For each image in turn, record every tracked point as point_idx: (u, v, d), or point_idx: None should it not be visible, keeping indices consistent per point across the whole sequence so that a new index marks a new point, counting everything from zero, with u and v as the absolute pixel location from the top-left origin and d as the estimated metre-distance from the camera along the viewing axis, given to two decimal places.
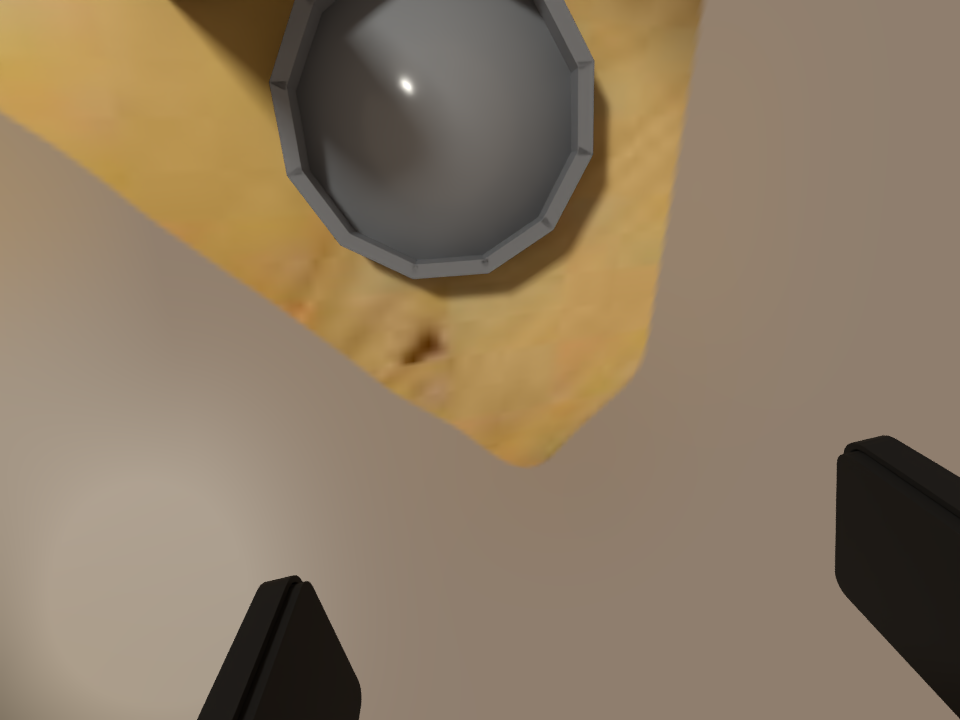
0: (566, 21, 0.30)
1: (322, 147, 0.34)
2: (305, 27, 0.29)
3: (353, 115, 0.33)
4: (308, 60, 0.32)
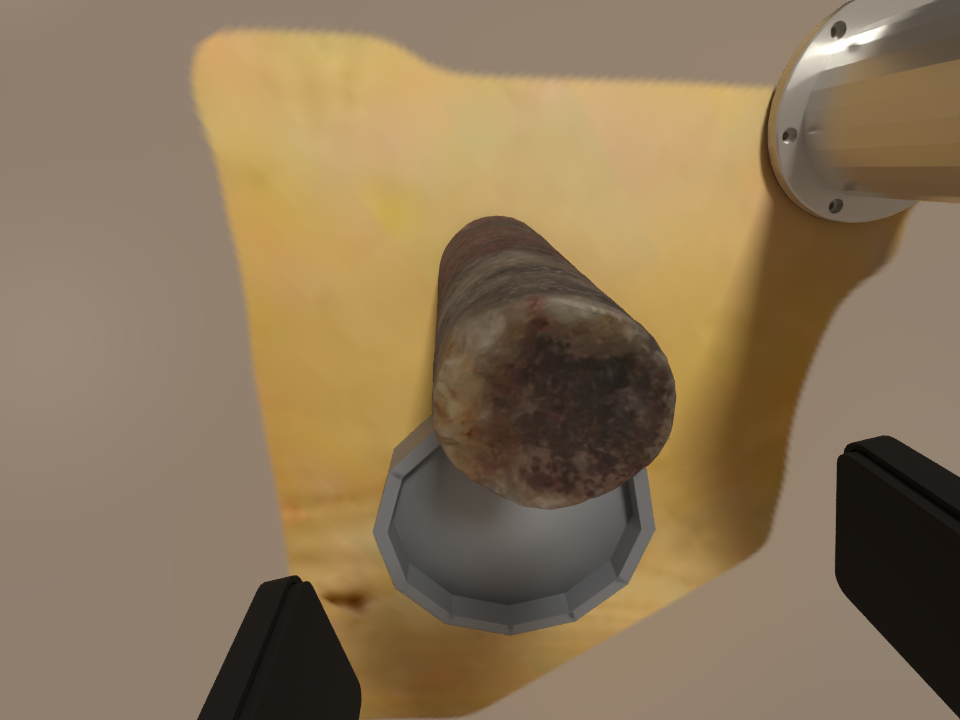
0: (636, 555, 0.38)
1: (429, 459, 0.36)
2: None
3: None
4: None
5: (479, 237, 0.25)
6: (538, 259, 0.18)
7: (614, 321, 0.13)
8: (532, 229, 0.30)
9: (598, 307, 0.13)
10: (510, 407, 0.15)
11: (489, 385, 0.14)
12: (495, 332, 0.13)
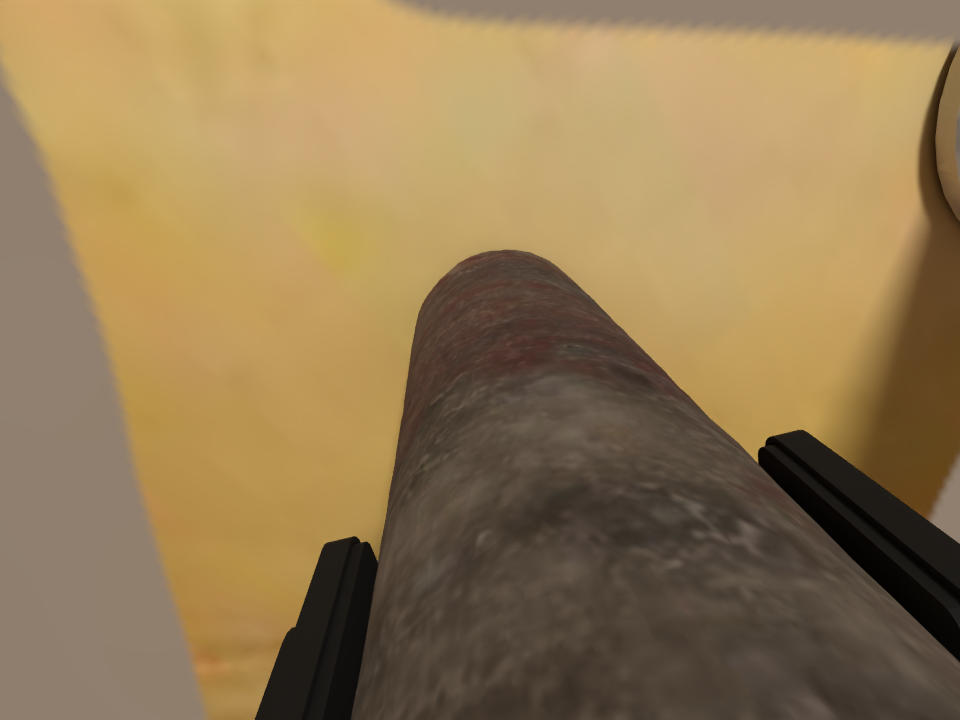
0: None
1: None
2: None
3: None
4: None
5: (478, 305, 0.13)
6: (641, 427, 0.07)
7: None
8: (564, 274, 0.18)
9: None
10: None
11: None
12: None
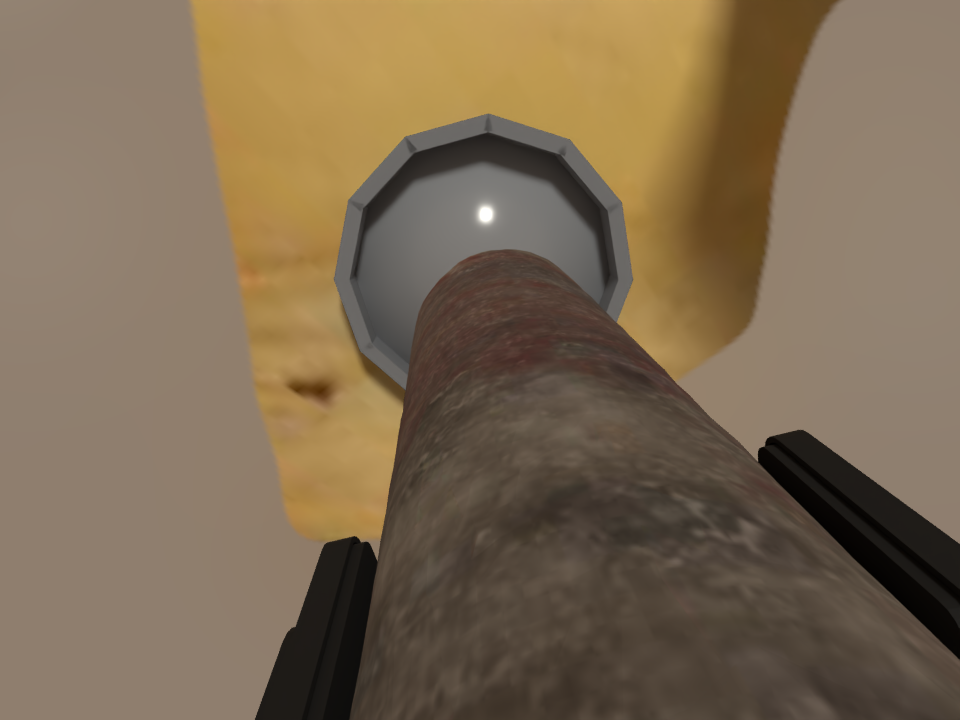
0: (614, 313, 0.36)
1: (393, 203, 0.34)
2: (466, 137, 0.31)
3: (436, 210, 0.35)
4: (445, 147, 0.33)
5: (478, 304, 0.13)
6: (640, 426, 0.07)
7: None
8: (564, 273, 0.18)
9: None
10: None
11: None
12: None
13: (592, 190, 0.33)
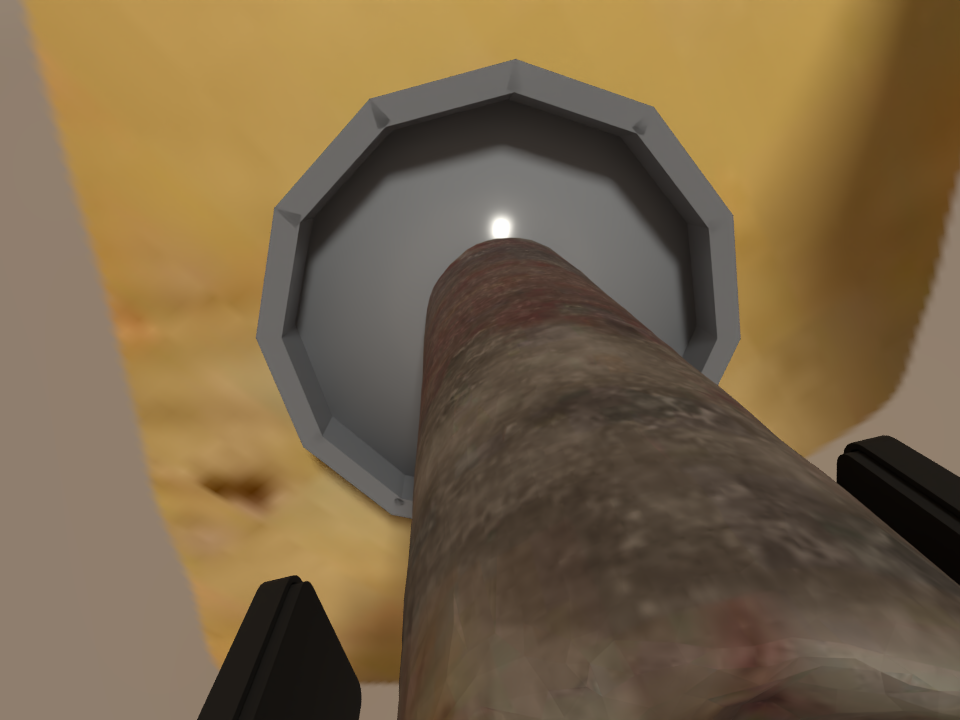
0: None
1: (355, 213, 0.21)
2: (476, 101, 0.18)
3: (425, 224, 0.21)
4: (439, 121, 0.20)
5: (489, 280, 0.15)
6: (630, 357, 0.09)
7: None
8: None
9: None
10: None
11: None
12: None
13: (686, 194, 0.20)
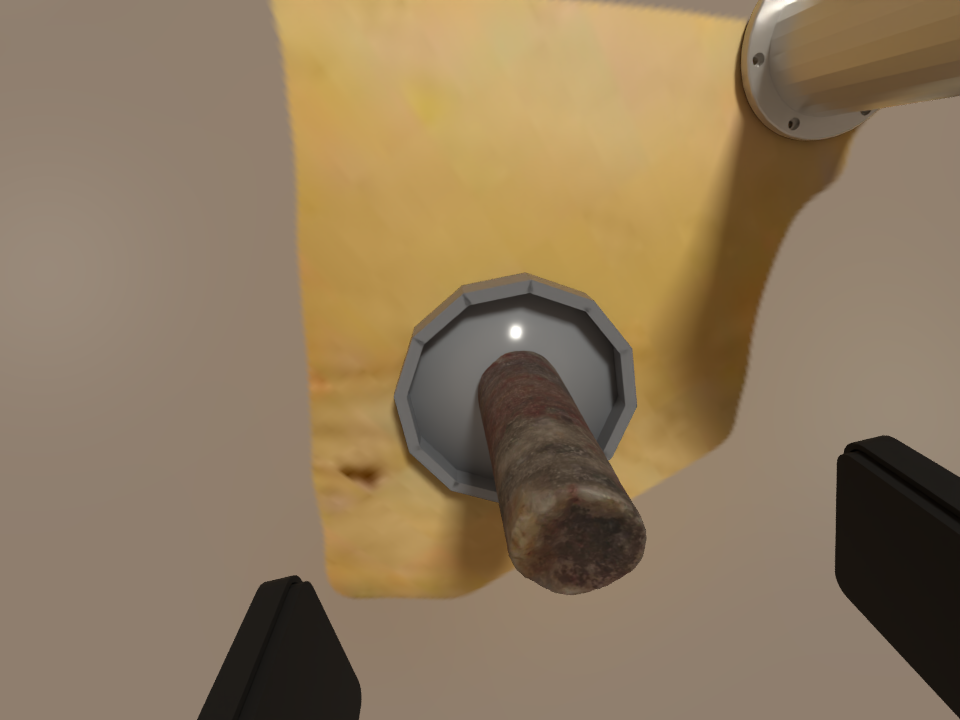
0: (620, 430, 0.44)
1: (445, 335, 0.42)
2: (511, 296, 0.39)
3: (480, 341, 0.42)
4: None
5: (517, 386, 0.36)
6: (566, 433, 0.29)
7: (615, 502, 0.24)
8: (549, 365, 0.41)
9: (607, 495, 0.24)
10: (553, 539, 0.26)
11: (542, 529, 0.25)
12: (550, 504, 0.24)
13: (609, 338, 0.41)
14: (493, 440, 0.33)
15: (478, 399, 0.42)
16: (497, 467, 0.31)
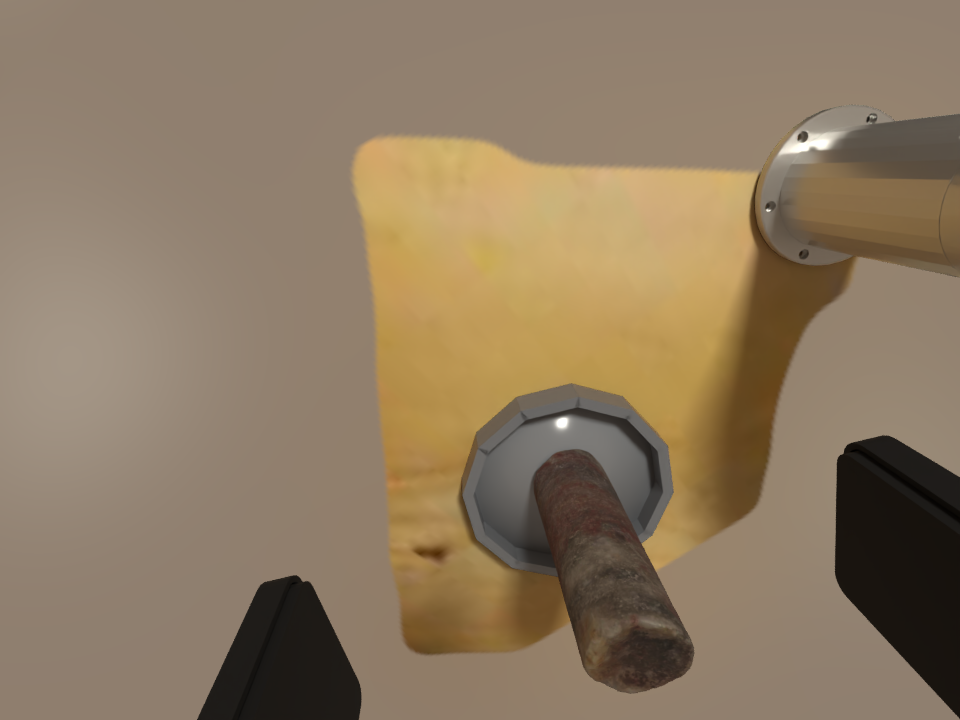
0: (659, 512, 0.50)
1: (504, 440, 0.48)
2: (562, 410, 0.45)
3: (534, 443, 0.48)
4: None
5: (573, 496, 0.42)
6: (621, 554, 0.36)
7: (669, 629, 0.31)
8: (595, 464, 0.47)
9: (662, 624, 0.31)
10: (618, 654, 0.32)
11: (610, 648, 0.32)
12: (616, 631, 0.31)
13: (647, 439, 0.47)
14: (557, 549, 0.40)
15: (534, 493, 0.48)
16: (564, 579, 0.37)
